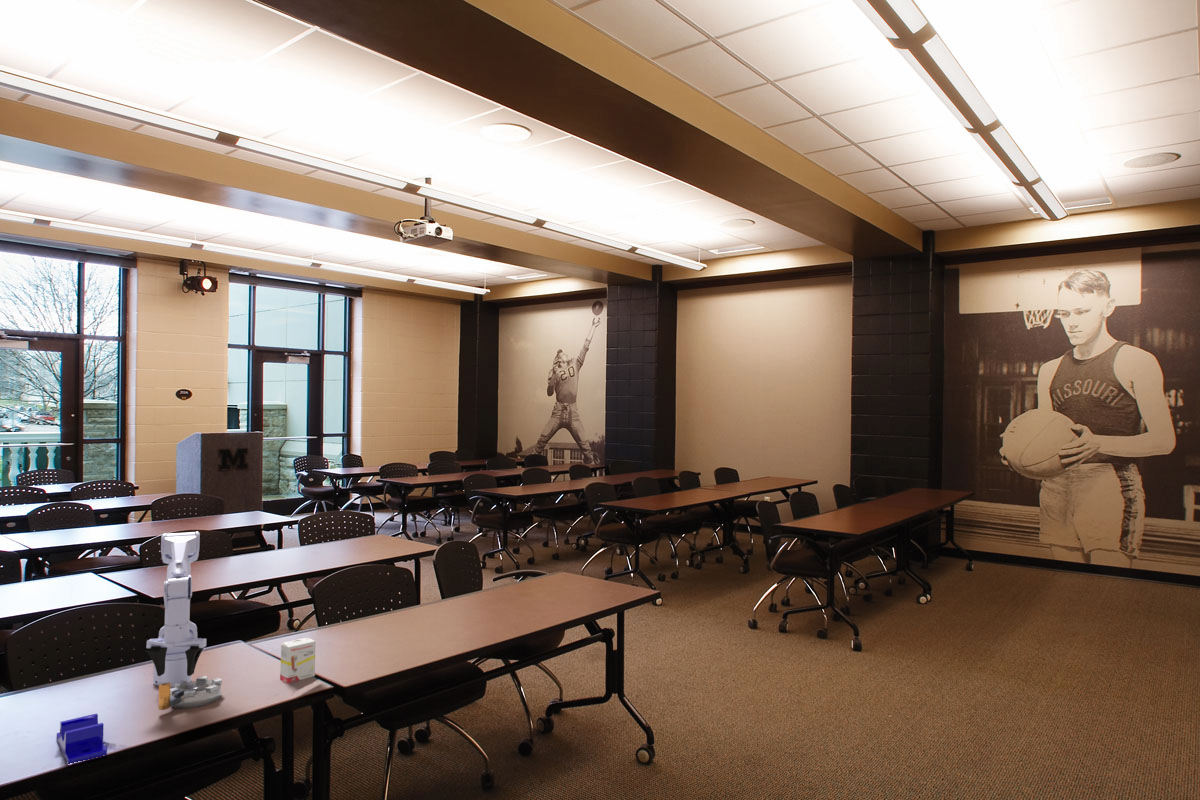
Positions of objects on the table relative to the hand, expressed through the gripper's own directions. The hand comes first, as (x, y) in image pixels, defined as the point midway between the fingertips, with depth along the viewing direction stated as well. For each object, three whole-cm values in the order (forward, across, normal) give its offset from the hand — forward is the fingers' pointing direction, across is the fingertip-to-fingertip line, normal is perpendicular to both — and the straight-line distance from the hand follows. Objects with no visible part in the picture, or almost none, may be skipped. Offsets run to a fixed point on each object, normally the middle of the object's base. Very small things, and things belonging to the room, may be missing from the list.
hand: (175, 674), depth 190 cm
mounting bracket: (+10, -11, -20) cm, 25 cm away
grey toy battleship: (+8, +2, +2) cm, 9 cm away
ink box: (+10, +24, +20) cm, 33 cm away
